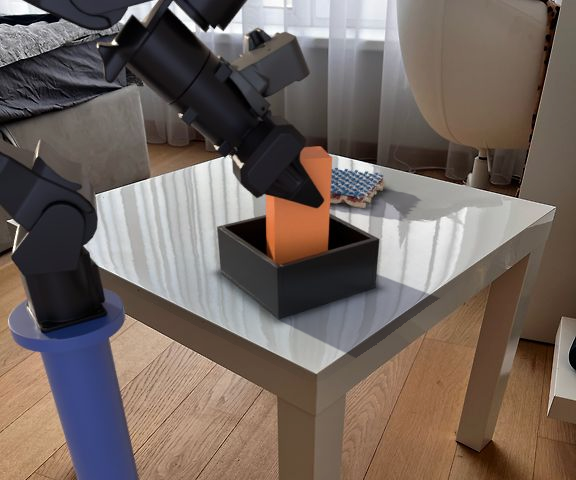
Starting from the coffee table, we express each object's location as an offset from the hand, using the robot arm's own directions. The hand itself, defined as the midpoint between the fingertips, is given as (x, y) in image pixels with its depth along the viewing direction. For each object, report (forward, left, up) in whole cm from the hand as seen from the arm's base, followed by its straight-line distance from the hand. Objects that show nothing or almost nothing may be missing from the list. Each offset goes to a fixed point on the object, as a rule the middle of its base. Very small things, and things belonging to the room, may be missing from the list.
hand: (309, 192), depth 62 cm
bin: (-1, 0, -10) cm, 10 cm away
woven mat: (+20, +20, -10) cm, 30 cm away
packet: (-2, 0, -9) cm, 9 cm away
